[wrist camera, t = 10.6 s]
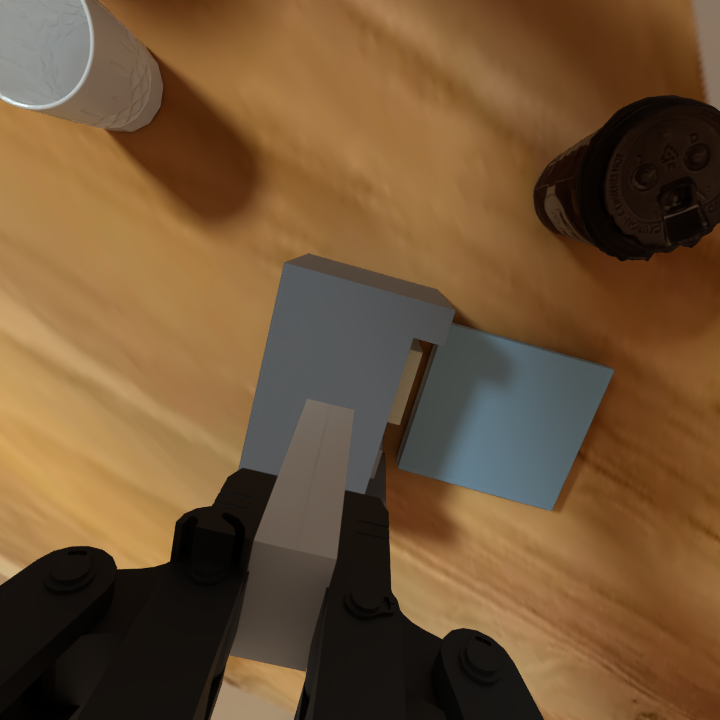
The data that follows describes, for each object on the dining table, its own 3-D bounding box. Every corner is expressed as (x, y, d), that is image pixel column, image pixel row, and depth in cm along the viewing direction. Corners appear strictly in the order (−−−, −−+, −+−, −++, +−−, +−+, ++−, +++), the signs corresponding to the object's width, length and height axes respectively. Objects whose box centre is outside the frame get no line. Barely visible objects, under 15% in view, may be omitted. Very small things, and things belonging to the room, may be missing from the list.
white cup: (103, 157, 37) (6, 133, 27) (49, 53, 35) (-75, -12, 26) (190, 114, 36) (120, 72, 26) (138, 4, 34) (43, -84, 24)
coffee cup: (599, 266, 38) (706, 286, 25) (501, 234, 37) (561, 238, 25) (650, 154, 35) (797, 115, 23) (546, 119, 35) (638, 59, 22)
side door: (443, 322, 38) (614, 370, 38) (440, 317, 39) (603, 363, 40) (395, 468, 41) (551, 511, 41) (395, 457, 43) (544, 498, 43)
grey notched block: (308, 253, 38) (281, 263, 28) (437, 289, 39) (457, 312, 28) (260, 457, 44) (222, 529, 33) (374, 488, 44) (371, 568, 34)
